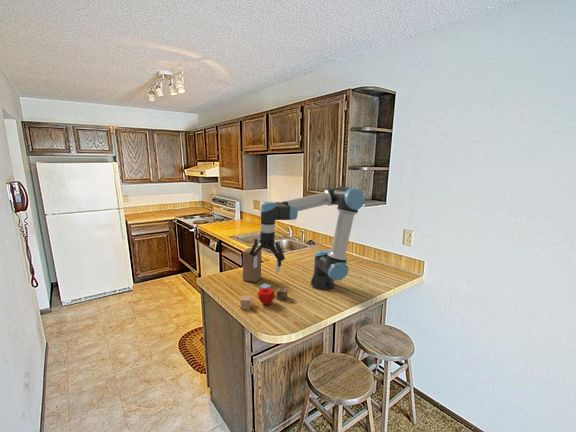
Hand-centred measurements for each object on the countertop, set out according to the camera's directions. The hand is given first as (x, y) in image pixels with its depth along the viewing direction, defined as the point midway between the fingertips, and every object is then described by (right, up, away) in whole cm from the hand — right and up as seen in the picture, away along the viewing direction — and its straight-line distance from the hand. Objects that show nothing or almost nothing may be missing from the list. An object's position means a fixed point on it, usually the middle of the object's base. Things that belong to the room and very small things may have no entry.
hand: (266, 269), depth 148 cm
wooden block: (-12, -13, +36) cm, 40 cm away
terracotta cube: (-11, -20, -1) cm, 23 cm away
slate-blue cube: (-2, -17, +15) cm, 23 cm away
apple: (0, -19, +4) cm, 20 cm away
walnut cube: (+8, -18, +11) cm, 23 cm away
